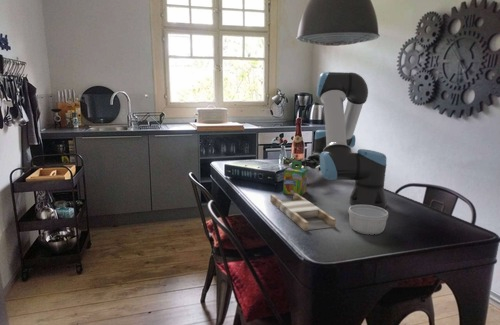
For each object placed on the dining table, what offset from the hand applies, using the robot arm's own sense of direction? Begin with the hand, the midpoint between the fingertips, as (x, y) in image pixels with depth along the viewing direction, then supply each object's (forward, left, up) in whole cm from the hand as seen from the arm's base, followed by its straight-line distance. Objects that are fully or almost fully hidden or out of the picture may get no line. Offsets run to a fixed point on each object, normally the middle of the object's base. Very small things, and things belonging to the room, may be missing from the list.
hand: (302, 168), depth 170 cm
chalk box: (0, +10, -10) cm, 14 cm away
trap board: (-11, +35, -10) cm, 38 cm away
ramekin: (-37, +38, -10) cm, 54 cm away
